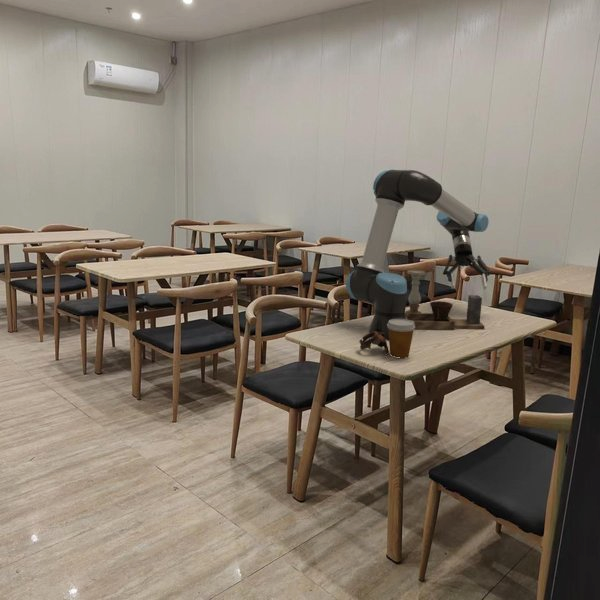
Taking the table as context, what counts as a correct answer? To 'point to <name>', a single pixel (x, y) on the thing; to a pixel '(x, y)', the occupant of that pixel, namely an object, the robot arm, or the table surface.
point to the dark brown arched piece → (374, 341)
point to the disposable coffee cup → (400, 336)
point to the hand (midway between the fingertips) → (469, 287)
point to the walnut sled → (450, 324)
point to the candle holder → (414, 291)
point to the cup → (440, 310)
